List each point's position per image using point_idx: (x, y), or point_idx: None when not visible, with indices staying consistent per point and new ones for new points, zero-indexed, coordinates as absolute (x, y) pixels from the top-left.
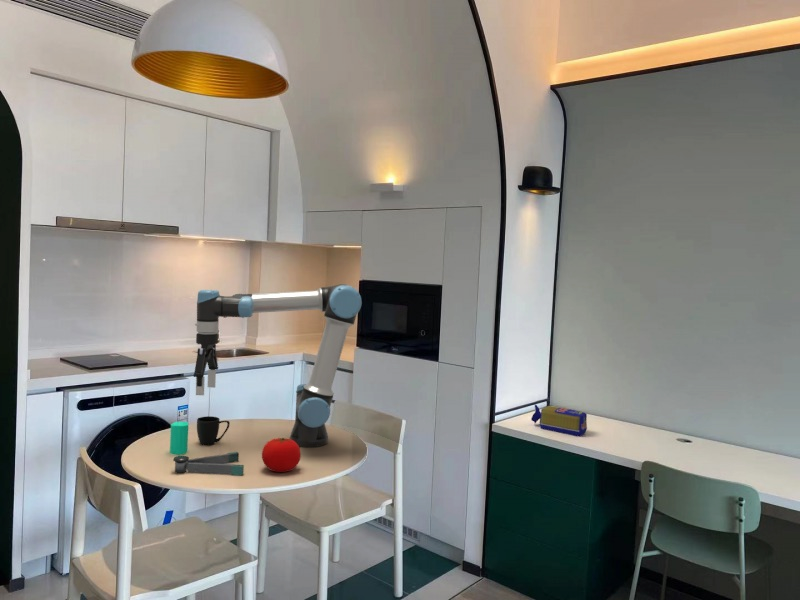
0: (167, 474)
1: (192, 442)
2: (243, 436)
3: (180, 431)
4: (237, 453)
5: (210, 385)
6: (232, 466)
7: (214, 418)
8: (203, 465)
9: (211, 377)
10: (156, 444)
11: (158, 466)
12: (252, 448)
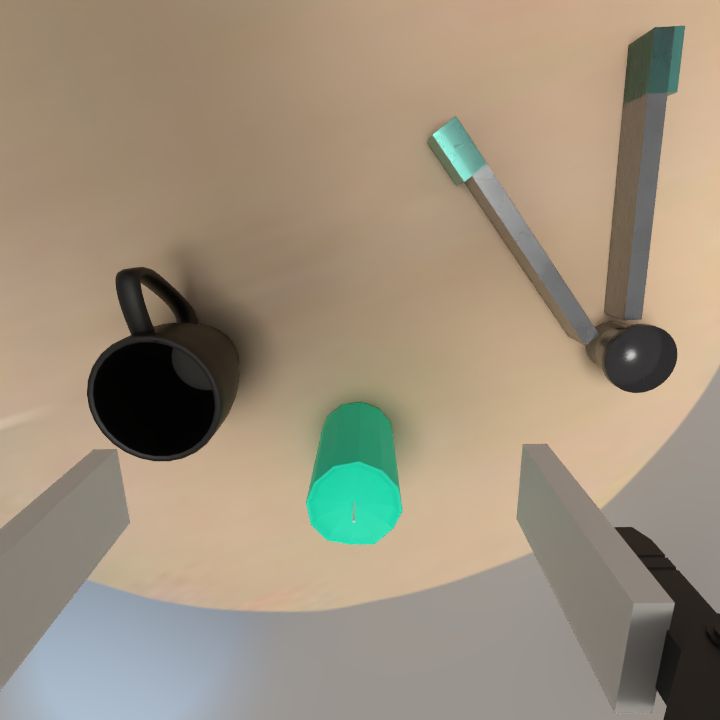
0: None
1: None
2: (32, 218)
3: (395, 471)
4: (459, 123)
5: (114, 505)
6: (676, 87)
7: (100, 377)
8: (646, 245)
9: (50, 565)
10: (275, 548)
11: None
12: (222, 109)
